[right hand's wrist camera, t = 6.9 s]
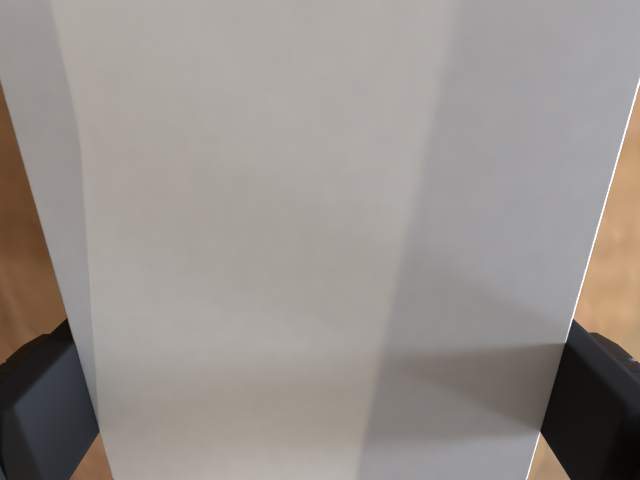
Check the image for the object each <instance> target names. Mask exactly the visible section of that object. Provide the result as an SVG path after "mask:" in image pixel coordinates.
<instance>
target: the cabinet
mask: <svg viewBox="0 0 640 480" xmlns="http://www.w3.org/2000/svg"><path fill="white" fill-rule="evenodd" d="M0 83H1V86H2V90H3V93H4V97H5V100H6V104H7V107H8V111H9V114H10V118H11V122H12V125H13V129H14V132H15V136H16V139H17V143H18V146H19V150H20V153H21V157H22V160H23V164H24V167H25V171H26V174H27V178H28V181H29V185H30V188H31V192H32V195H33V199H34V203H35V206H36V210H37V213H38V217H39V220H40V224H41V227H42V231H43V234H44V238H45V241H46V245H47V248H48V252H49V255H50V259H51V262H52V266H53V269H54V273H55V276H56V280H57V283H58V287H59V291H60V294H61V298H62V301H63V305H64V308H65V312H66V315H67V319H68V322H69V326H70V329H71V333H72V336H73V340H74V342H75V346H76V349H77V353H78V356H79V360H80V364H81V367H82V371H83V374H84V378H85V381H86V385H87V388H88V392H89V395H90V399H91V402H92V406H93V409H94V413H95V416H96V420H97V423H98V427H99V430H100V435H101V438H102V442H103V445H104V449H105V452H106V456H107V460H108V463H109V467H110V470H111V474H112V477H113V480H527V477H528V474H529V470H530V467H531V463H532V460H533V456H534V453H535V449H536V446H537V442H538V439H539V435H540V430H541V427H542V423H543V420H544V416H545V413H546V409H547V406H548V402H549V398H550V395H551V391H552V388H553V384H554V381H555V377H556V374H557V370H558V367H559V363H560V360H561V356H562V353H563V349H564V346H565V342H566V340H567V337H568V333H569V329H570V326H571V322H572V319H573V315H574V312H575V308H576V305H577V301H578V298H579V294H580V291H581V287H582V284H583V280H584V277H585V273H586V270H587V266H588V263H589V259H590V256H591V252H592V249H593V245H594V242H595V238H596V234H597V231H598V227H599V224H600V220H601V217H602V213H603V210H604V206H605V203H606V199H607V196H608V192H609V189H610V185H611V182H612V178H613V175H614V171H615V168H616V164H617V161H618V157H619V154H620V150H621V146H622V143H623V139H624V136H625V132H626V129H627V125H628V122H629V118H630V115H631V111H632V108H633V104H634V101H635V97H636V94H637V90H638V87H639V83H640V0H0Z"/></svg>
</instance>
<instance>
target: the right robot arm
mask: <svg viewBox="0 0 640 480" xmlns="http://www.w3.org/2000/svg"><path fill="white" fill-rule="evenodd" d="M99 432H100V430H99V427H98V423H97V420H96V416H95V413H94V409H93V406H92V402H91V399H90V395H89V392H88V388H87V385H86V381H85V378H84V374H83V371H82V367H81V364H80V360H79V356H78V353H77V349H76V346H75V342H74V340H73V336H72V333H71V329H70V326H69V322H68V319H66V320H65V321H64V322H63V323H61V324H60V325H59V326H58V327H57V328H56V329H55V330H54V331H53V332H52V333H51V334H42V335H41V336H39V337H37V338H35V339H34V340H32V341H30V342H28V343H26V344H25V345H23V346H22V347H20V348H19V349H18V350H17V351H16V352H15V353H14V354H12V355H11V356H10V357H9V358H8V359H7V360H6V363H2V364H1V365H0V480H69V479H70V477H71V476H72V474H73V473H74V471H75V469H76V468H77V466H78V465H79V463H80V462H81V460H82V458H83V457H84V455H85V454H86V452H87V451H88V449H89V447H90V446H91V444H92V443H93V441H94V440H95V438H96V436H97V435H98V433H99ZM540 432H541V434H542V435H543V437H544V438H545V440H546V442H547V443H548V445H549V446H550V448H551V449H552V451H553V453H554V454H555V456H556V457H557V459H558V460H559V462H560V464H561V465H562V467H563V468H564V470H565V471H566V473H567V475H568V476H569V478H570V479H571V480H640V363H638V362H637V361H634V358H633V357H632V356H630V355H629V354H628V353H627V352H626V351H625V350H624V349H622V348H621V347H620V346H619V345H618V344H616V343H614V342H612V341H611V340H609V339H607V338H605V337H604V336H602V335H600V334H598V333H588V332H587V331H586V330H585V329H584V328H583V327H581V326H580V325H579V324H578V323H577V322H576V321H575V320H574V319H572V322H571V326H570V329H569V333H568V337H567V340H566V342H565V346H564V349H563V353H562V356H561V360H560V363H559V367H558V370H557V374H556V377H555V381H554V384H553V388H552V391H551V395H550V398H549V402H548V406H547V409H546V413H545V416H544V420H543V423H542V427H541V430H540Z"/></svg>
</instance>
